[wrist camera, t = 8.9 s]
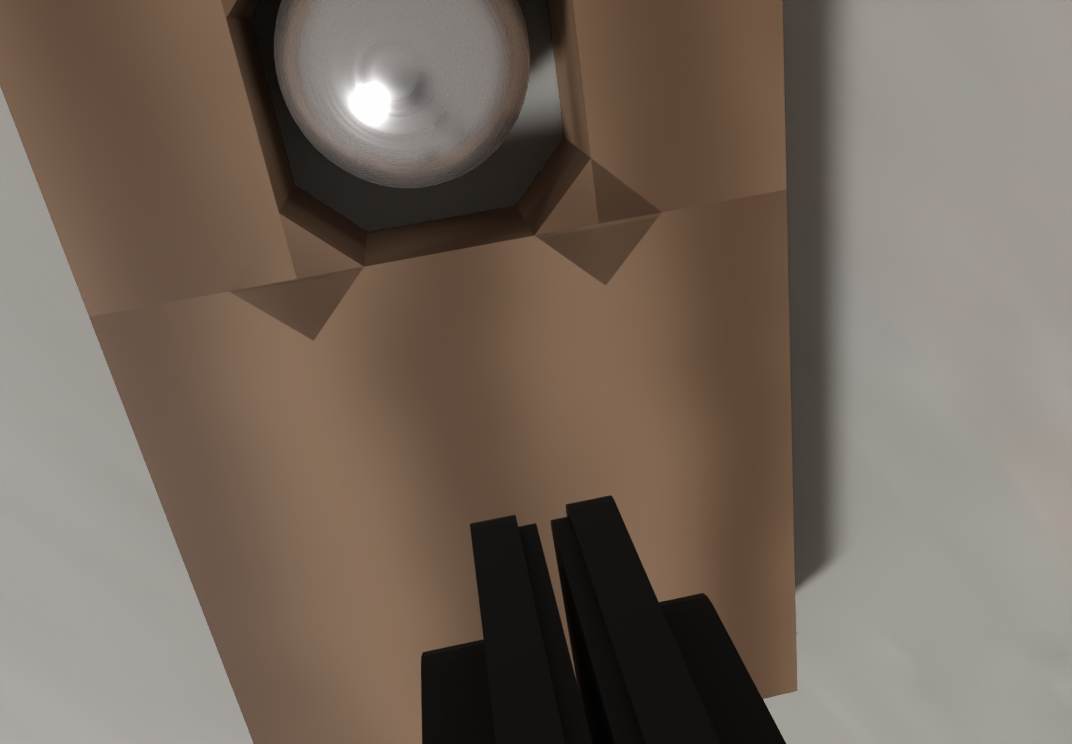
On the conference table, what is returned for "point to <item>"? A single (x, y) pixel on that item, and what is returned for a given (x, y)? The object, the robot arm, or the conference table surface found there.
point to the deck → (430, 339)
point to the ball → (403, 83)
